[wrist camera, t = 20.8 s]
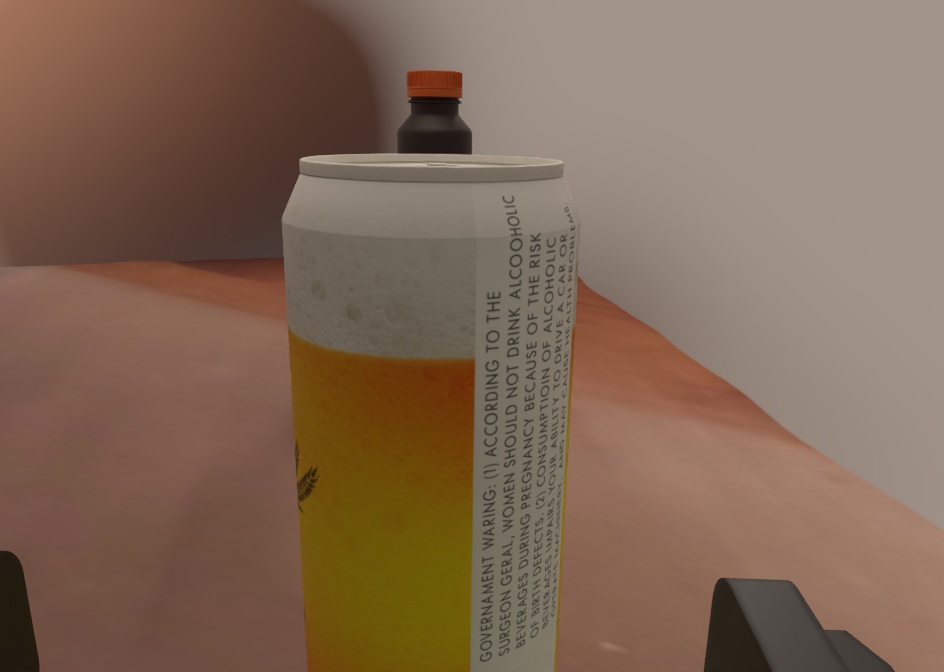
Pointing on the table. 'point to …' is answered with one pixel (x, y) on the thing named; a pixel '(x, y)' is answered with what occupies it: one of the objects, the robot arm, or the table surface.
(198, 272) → the table surface
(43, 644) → the table surface
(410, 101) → the bottle
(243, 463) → the table surface
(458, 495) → the beer can
